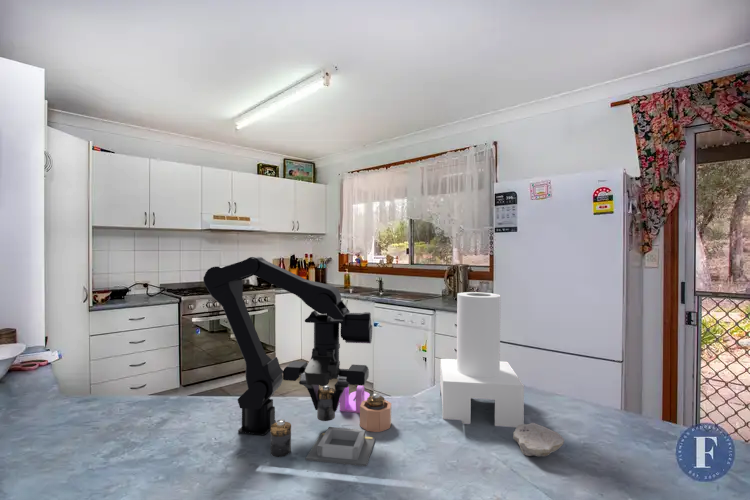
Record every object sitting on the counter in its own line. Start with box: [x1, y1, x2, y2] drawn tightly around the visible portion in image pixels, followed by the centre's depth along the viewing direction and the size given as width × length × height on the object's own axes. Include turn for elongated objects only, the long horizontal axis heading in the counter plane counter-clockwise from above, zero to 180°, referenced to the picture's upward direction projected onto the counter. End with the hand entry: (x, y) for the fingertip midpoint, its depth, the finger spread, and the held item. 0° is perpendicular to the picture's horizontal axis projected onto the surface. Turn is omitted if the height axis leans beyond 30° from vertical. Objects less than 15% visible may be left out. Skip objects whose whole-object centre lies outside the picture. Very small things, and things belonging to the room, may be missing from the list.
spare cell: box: [270, 418, 292, 458], centre depth 77 cm, size 4×4×7 cm
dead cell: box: [367, 392, 385, 410], centre depth 89 cm, size 4×4×7 cm
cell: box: [316, 384, 336, 422], centre depth 87 cm, size 4×4×7 cm
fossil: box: [512, 422, 565, 458], centre depth 79 cm, size 9×6×10 cm
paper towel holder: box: [439, 291, 525, 428], centre depth 100 cm, size 19×19×30 cm
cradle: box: [305, 426, 376, 467], centre depth 78 cm, size 12×10×3 cm
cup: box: [359, 398, 392, 433], centre depth 89 cm, size 7×7×5 cm
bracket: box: [339, 385, 371, 414], centre depth 102 cm, size 13×6×7 cm, turn 169°
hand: (326, 410), depth 87 cm, fingers closed on cell, 4 cm apart
